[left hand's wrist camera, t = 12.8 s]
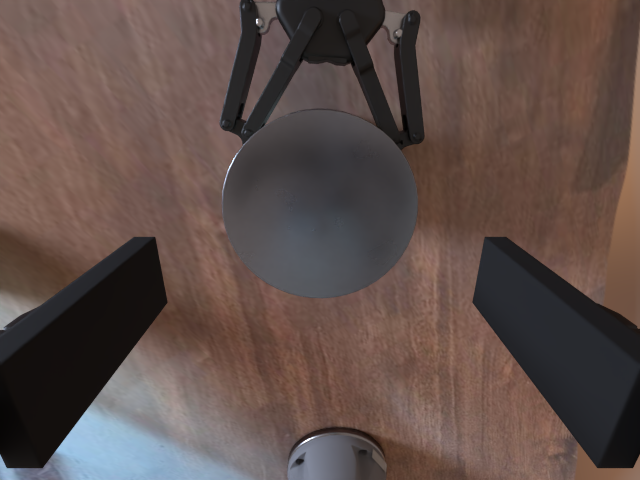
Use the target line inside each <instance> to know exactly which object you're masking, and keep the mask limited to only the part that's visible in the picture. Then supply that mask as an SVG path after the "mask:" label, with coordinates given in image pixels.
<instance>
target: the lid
mask: <svg viewBox="0 0 640 480" xmlns="http://www.w3.org/2000/svg"><path fill="white" fill-rule="evenodd" d="M222 213H223V220H224V225H225V229H226V232H227V235H228V237H229V240H230V242H231V244H232V246H233V248H234V250H235V251H236V253H237V254H238V256H239V257H240V259H241V260H242V261H243V263H244V264H245V265H246V266H247V267H248V268H249V269H250V270H251V271H252V272H253V273H254V274H255V275H256V276H258V277H259V278H260V279H262V280H263V281H265V282H266V283H268V284H269V285H271V286H273V287H275V288H277V289H279V290H282V291H284V292H287V293H290V294H294V295H297V296H303V297H309V298H330V297H337V296H342V295H347V294H350V293H353V292H356V291H358V290H361V289H363V288H365V287H367V286H369V285H370V284H372V283H374V282H375V281H377V280H378V279H380V278H381V277H382V276H383V275H385V274H386V273H387V272H388V271H389V270H390V269H391V268H392V267H393V266H394V265H395V264H396V263H397V261H398V260H399V259H400V257H401V256H402V255H403V253H404V251H405V250H406V248H407V246H408V244H409V242H410V240H411V237H412V235H413V232H414V228H415V225H416V219H417V213H418V195H417V187H416V183H415V179H414V176H413V173H412V170H411V168H410V166H409V163H408V161H407V160H406V158H405V156H404V155H403V153H402V151H401V150H400V149H399V147H398V146H397V145H396V144H395V143H394V141H393V140H392V139H391V138H390V137H388V136H387V135H386V134H385V133H384V132H383V131H382V130H380V129H379V128H377V127H376V126H375V125H373V124H372V123H370V122H368V121H366V120H364V119H362V118H360V117H358V116H355V115H352V114H349V113H346V112H343V111H338V110H333V109H318V108H317V109H307V110H301V111H297V112H293V113H290V114H288V115H285V116H283V117H280V118H278V119H276V120H274V121H272V122H270V123H269V124H267V125H265V126H264V127H262V128H261V129H260V130H258V131H257V132H256V133H255V134H253V135H252V136H251V137H250V138H249V139H248V140H247V141H246V142H245V144H244V145H243V146H242V147H241V149H240V150H239V152H238V153H237V154H236V156H235V158H234V160H233V162H232V163H231V165H230V167H229V170H228V173H227V176H226V178H225V183H224V188H223V195H222Z"/></svg>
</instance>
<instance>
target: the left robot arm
mask: <svg viewBox="0 0 640 480" xmlns="http://www.w3.org/2000/svg"><path fill="white" fill-rule="evenodd" d="M166 304H167V297H166V292H165V287H164V281H163V276H162V271H161V265H160V260H159V255H158V249H157V244H156V239H155V237H133V238H132V239H131V240H129V241H128V242H127V243H125V244H124V245H122V246H121V247H120V248H118V249H117V250H116V251H114V252H113V253H112V254H110V255H109V256H107V257H106V258H105V259H103V260H102V261H101V262H99V263H98V264H97V265H95V266H94V267H92V268H91V269H90V270H88V271H87V272H86V273H84V274H83V275H82V276H80V277H79V278H78V279H76V280H75V281H73V282H72V283H71V284H69V285H68V286H67V287H65V288H64V289H63V290H61V291H60V292H58V293H57V294H56V295H54V296H53V297H52V298H50V299H49V300H48V301H46V302H45V303H43V304H42V305H41V306H39V307H37V308H35V309H33V310H31V311H29V312H27V313H24V314H22V315H20V316H19V317H18V318H16V319H15V320H13V321H12V322H11V323H9V324H8V325H6V326H5V327H4V328H3V330H0V455H1V457H2V459H3V461H4V463H5V465H6V467H7V468H43V467H44V465H45V464H46V463H47V461H48V460H49V459H50V458H51V456H52V455H53V454H54V452H55V451H56V450H57V448H58V447H59V446H60V444H61V443H62V442H63V440H64V439H65V438H66V436H67V435H68V434H69V432H70V431H71V430H72V428H73V427H74V426H75V424H76V423H77V422H78V420H79V419H80V418H81V416H82V415H83V414H84V412H85V411H86V410H87V409H88V407H89V406H90V405H91V403H92V402H93V401H94V399H95V398H96V397H97V395H98V394H99V393H100V391H101V390H102V389H103V387H104V386H105V385H106V383H107V382H108V381H109V379H110V378H111V377H112V375H113V374H114V373H115V371H116V370H117V369H118V367H119V366H120V365H121V363H122V362H123V361H124V360H125V358H126V357H127V356H128V354H129V353H130V352H131V350H132V349H133V348H134V346H135V345H136V344H137V342H138V341H139V340H140V338H141V337H142V336H143V334H144V333H145V332H146V330H147V329H148V328H149V326H150V325H151V324H152V322H153V321H154V320H155V318H156V317H157V316H158V314H159V313H160V312H161V310H162V309H163V308H164V307H165V305H166ZM473 304H474V305H475V307H476V308H477V309H478V310H479V312H480V313H481V314H482V316H483V317H484V318H485V320H486V321H487V322H488V324H489V325H490V326H491V328H492V329H493V330H494V332H495V333H496V334H497V336H498V337H499V338H500V340H501V341H502V342H503V344H504V345H505V346H506V348H507V349H508V350H509V352H510V353H511V354H512V356H513V357H514V358H515V360H516V361H517V362H518V363H519V365H520V366H521V367H522V369H523V370H524V371H525V373H526V374H527V375H528V377H529V378H530V379H531V381H532V382H533V383H534V385H535V386H536V387H537V389H538V390H539V391H540V393H541V394H542V395H543V397H544V398H545V399H546V401H547V402H548V403H549V405H550V406H551V407H552V409H553V410H554V411H555V412H556V414H557V415H558V416H559V418H560V419H561V420H562V422H563V423H564V424H565V426H566V427H567V428H568V430H569V431H570V432H571V434H572V435H573V436H574V438H575V439H576V440H577V442H578V443H579V444H580V446H581V447H582V448H583V450H584V451H585V452H586V454H587V455H588V456H589V457H590V459H591V460H592V461H593V463H594V464H595V465H596V467H597V468H633V467H634V465H635V463H636V461H637V459H638V457H639V455H640V329H638V328H637V326H636V325H635V324H633V323H632V322H630V321H629V320H628V319H626V318H625V317H623V316H622V315H620V314H619V313H617V312H615V311H612V310H610V309H608V308H606V307H604V306H602V305H600V304H597V303H595V302H594V301H592V300H591V299H590V298H588V297H587V296H586V295H584V294H583V293H582V292H580V291H579V290H577V289H576V288H575V287H573V286H572V285H571V284H569V283H568V282H567V281H565V280H564V279H562V278H561V277H560V276H558V275H557V274H556V273H554V272H553V271H552V270H550V269H549V268H548V267H546V266H545V265H543V264H542V263H541V262H539V261H538V260H537V259H535V258H534V257H533V256H531V255H530V254H528V253H527V252H526V251H524V250H523V249H522V248H520V247H519V246H518V245H516V244H515V243H513V242H512V241H511V240H509V239H508V238H507V237H485V239H484V244H483V249H482V255H481V260H480V265H479V271H478V276H477V281H476V287H475V292H474V297H473ZM386 469H387V463H386V461H385V456H384V452H383V450H382V448H381V446H380V445H379V444H378V443H377V442H376V441H375V440H374V439H373V438H372V437H370V436H369V435H367V434H365V433H363V432H360V431H357V430H354V429H349V428H338V427H336V428H326V429H321V430H317V431H314V432H312V433H310V434H308V435H306V436H304V437H303V438H301V439H300V440H299V441H298V442H297V443H296V444H295V445H294V446H293V448H292V449H291V451H290V454H289V458H288V469H287V471H288V480H386Z"/></svg>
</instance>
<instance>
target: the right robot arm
mask: <svg viewBox="0 0 640 480" xmlns="http://www.w3.org/2000/svg"><path fill="white" fill-rule="evenodd" d="M277 19H278V20H279V22H280V23H281V25H282V27H283V29H284V30H285V32H286V34H287V35H288V37H289V39H290V42H289V44H288V46H287V48H286V50H285V51H284V53H283V55H282V57H281V60H280V62H279V64H278V66H277V68H276V69H275V71H274V73H273V75H272V77H271V78H270V80H269V82H268V84H267V85H266V87H265V89H264V91H263V93H262V94H261V96H260V98H259V100H258V102H257V103H256V105H255V107H254V109H253V111H252V112H251V114H250V116H249V118H248V119H247V121H245V120H243V119H241V118H242V114H243V111H244V107H245V103H246V99H247V95H248V92H249V88H250V84H251V80H252V77H253V73H254V69H255V65H256V61H257V58H258V54H259V50H260V46H261V38H262V35H265V34H267V33H268V32H269V30H270V25H271V23H272V22H273V21H274V20H277ZM240 20H241V36H240V40H239V44H238V48H237V52H236V56H235V61H234V65H233V69H232V73H231V77H230V81H229V85H228V89H227V93H226V98H225V102H224V106H223V110H222V114H221V118H220V126H221V128H222V129H223V130H225V131H230V132H232V133H234V134H236V135H238V136H239V137H240V138H241V140H242V143H243V145H244V144H245V142H246V141H247V140H248V139H249V138H250V137H251V136H252V135H253V134H255V133H256V132H257V131H258V130H260V129H261V128H262V127H264V125H265V124H266V122H267V120H268V119H269V117H270V115H271V113H272V112H273V110H274V108H275V106H276V105H277V103H278V101H279V100H280V98H281V96H282V94H283V93H284V91H285V89H286V87H287V86H288V84H289V82H290V81H291V79H292V77H293V75H294V74H295V72H296V71H297V69H298V68H299V66H300V64H301V63H302V61H303V60H305V61H307V62H308V63H312V64H319V63H324V62H329V63H331V64H334V65H339V66H345V65H347V64H350V63H351V65H352V68H353V70H354V73H355V75H356V76H357V78H358V81H359V83H360V86H361V88H362V91H363V93H364V96H365V98H366V100H367V103H368V105H369V108H370V110H371V113H372V115H373V118H374V120H375V122H376V125H377V127H378V128H379V129H380V130H382V131H383V132H384V133H385V134H386V135H387V136H388V137H390V138H391V139H392V140H393V141H394V143H395V144H396V145H397V146H398V147H399V149H400V150H402V149H403V148H404V147H406V146H409V145H412V144H419V143H421V142H422V141H423V139H424V127H423V117H422V107H421V98H420V88H419V78H418V69H417V59H416V49H415V44H416V39H417V34H418V29H419V24H420V15H419V13H418V12H417V11H415V10H412V11H410V12H408V13H407V14H402V13H396V12H390V11H385V8H384V5H383V2H382V0H277V1H276V2H254V1H253V0H241V2H240ZM380 28H384V29H385V30H386V31H387V35H388V41H389V43H390V44H392V45H394V60H395V68H396V76H397V84H398V92H399V100H400V108H401V116H402V124H403V130H402V131H398V129H397V126H396V124H395V121H394V119H393V116H392V113H391V111H390V108H389V106H388V103H387V101H386V98H385V95H384V93H383V90H382V88H381V85H380V83H379V80H378V77H377V75H376V72H375V70H374V66H373V62H372V59H371V56H370V54H369V51H368V49H367V44H368V43H369V42H370V41H371V39H372V38H373V37H374V35H375V34H376V33H377V32H378V30H379V29H380Z"/></svg>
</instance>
